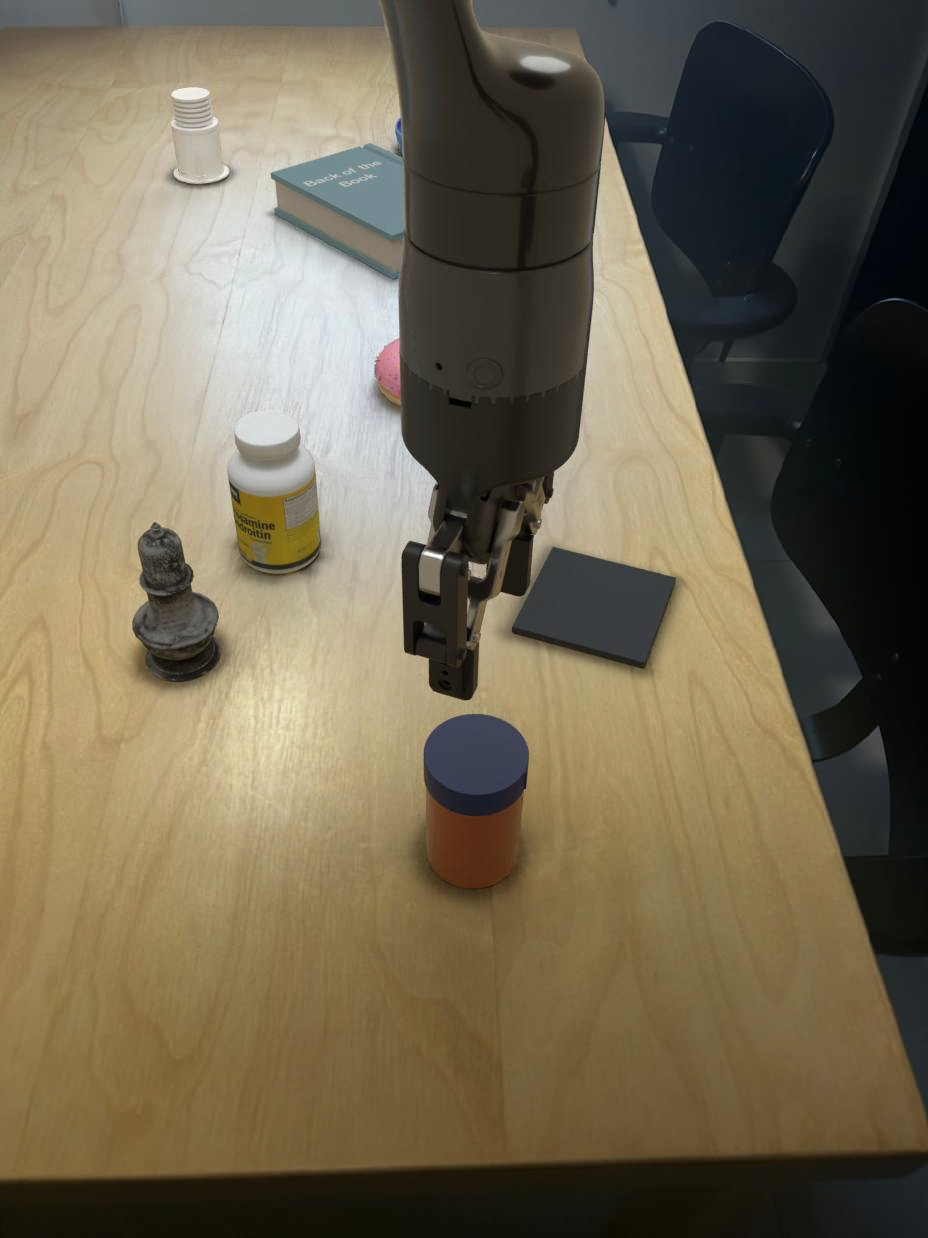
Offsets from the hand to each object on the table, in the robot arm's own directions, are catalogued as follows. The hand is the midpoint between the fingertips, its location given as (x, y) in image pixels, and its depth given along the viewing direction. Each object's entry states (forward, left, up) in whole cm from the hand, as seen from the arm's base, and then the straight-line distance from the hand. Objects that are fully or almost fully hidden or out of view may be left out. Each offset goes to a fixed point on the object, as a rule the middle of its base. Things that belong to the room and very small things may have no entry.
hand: (481, 637), depth 55 cm
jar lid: (0, 0, -9) cm, 9 cm away
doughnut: (+22, -48, -18) cm, 56 cm away
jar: (0, 0, -18) cm, 18 cm away
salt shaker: (+25, -8, -18) cm, 32 cm away
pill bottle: (+24, -21, -18) cm, 37 cm away
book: (+41, -80, -18) cm, 92 cm away
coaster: (-1, -24, -18) cm, 30 cm away
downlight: (+69, -85, -18) cm, 111 cm away
